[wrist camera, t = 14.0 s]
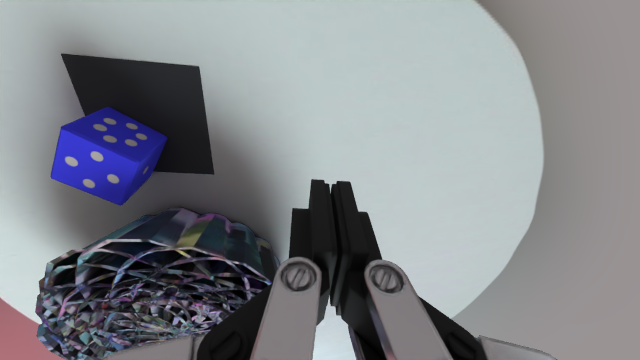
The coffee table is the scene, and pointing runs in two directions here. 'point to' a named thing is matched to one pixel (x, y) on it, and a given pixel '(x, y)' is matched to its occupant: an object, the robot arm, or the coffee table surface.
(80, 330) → the decorative bowl
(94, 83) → the pad
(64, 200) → the coffee table surface
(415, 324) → the robot arm
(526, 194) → the coffee table surface
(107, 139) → the die
